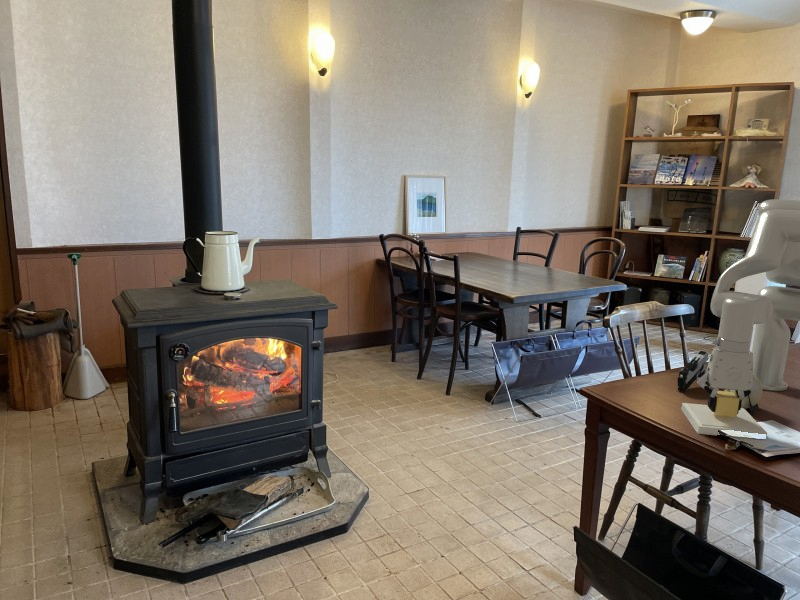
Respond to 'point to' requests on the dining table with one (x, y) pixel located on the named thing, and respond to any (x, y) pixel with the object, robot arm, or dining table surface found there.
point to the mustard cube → (726, 404)
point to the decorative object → (751, 397)
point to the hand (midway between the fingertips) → (723, 410)
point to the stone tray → (719, 420)
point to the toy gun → (693, 371)
